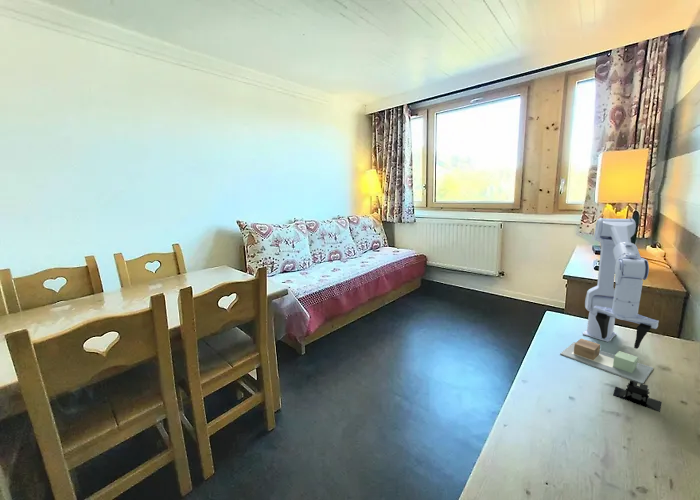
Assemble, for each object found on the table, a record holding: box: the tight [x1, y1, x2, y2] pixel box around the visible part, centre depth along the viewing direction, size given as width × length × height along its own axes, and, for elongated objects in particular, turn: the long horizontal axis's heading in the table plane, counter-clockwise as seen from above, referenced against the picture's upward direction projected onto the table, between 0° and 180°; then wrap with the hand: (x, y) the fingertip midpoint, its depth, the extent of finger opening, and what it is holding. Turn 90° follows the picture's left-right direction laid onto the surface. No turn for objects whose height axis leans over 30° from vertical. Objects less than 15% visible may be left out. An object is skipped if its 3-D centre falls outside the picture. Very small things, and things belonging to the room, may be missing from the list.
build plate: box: [559, 341, 654, 384], centre depth 102 cm, size 12×21×1 cm, turn 37°
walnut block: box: [574, 338, 601, 360], centre depth 106 cm, size 6×6×4 cm
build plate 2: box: [612, 380, 663, 413], centre depth 84 cm, size 12×7×5 cm, turn 44°
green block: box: [613, 350, 639, 373], centre depth 98 cm, size 5×5×4 cm
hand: (619, 342), depth 95 cm, fingers open, 7 cm apart
